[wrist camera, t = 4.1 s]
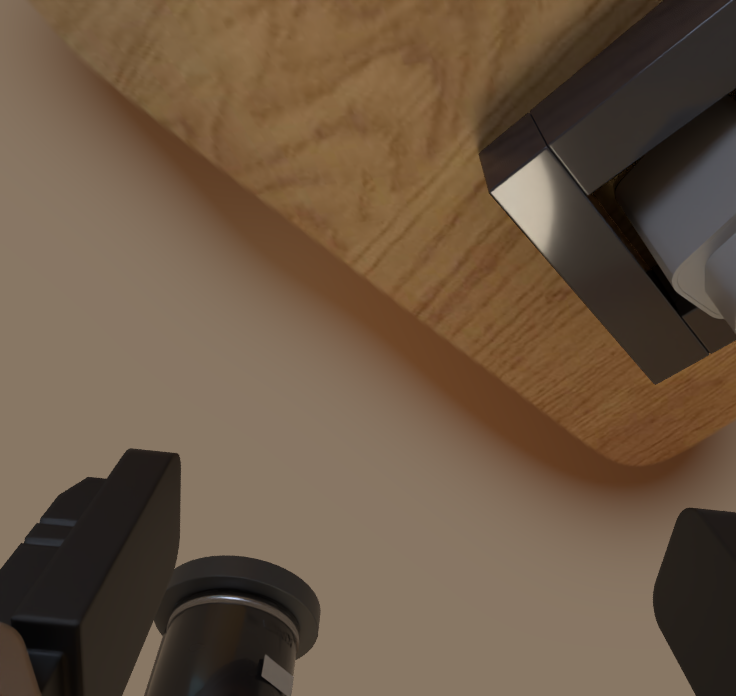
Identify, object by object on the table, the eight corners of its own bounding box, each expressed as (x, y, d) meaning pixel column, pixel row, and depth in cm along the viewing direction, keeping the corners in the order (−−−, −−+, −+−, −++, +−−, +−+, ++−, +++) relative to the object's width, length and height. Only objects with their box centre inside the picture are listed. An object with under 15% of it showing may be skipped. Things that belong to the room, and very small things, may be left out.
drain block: (629, 332, 31) (655, 386, 28) (477, 153, 27) (487, 192, 23) (893, 173, 26) (962, 215, 23) (764, -85, 21) (829, -77, 18)
